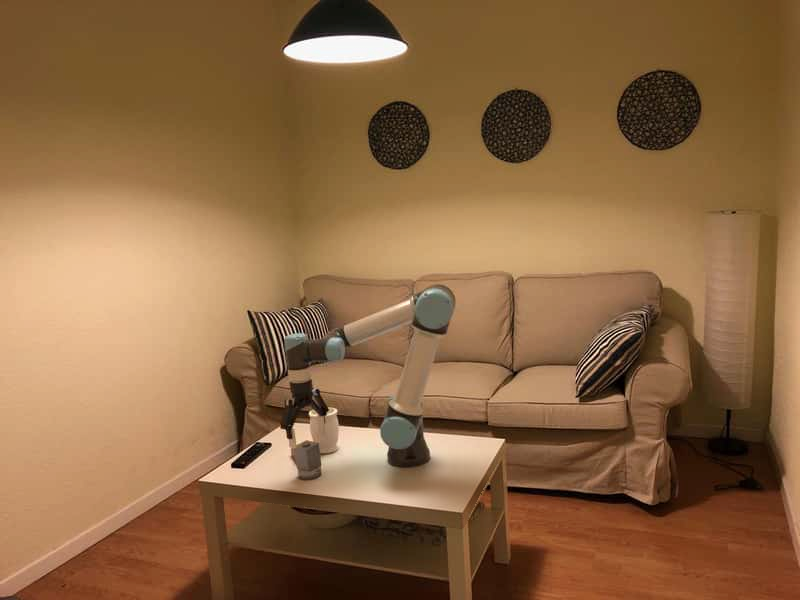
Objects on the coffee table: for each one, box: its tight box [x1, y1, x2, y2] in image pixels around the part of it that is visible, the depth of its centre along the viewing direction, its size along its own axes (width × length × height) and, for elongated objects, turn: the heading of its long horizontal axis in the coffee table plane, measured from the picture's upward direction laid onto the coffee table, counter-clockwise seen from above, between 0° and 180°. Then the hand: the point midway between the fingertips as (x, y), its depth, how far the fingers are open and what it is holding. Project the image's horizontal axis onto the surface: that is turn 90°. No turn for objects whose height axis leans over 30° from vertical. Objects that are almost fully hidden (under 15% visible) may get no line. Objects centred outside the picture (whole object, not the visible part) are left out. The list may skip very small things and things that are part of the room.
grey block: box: [294, 439, 323, 472], centre depth 234 cm, size 6×6×8 cm
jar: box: [308, 407, 340, 455], centre depth 257 cm, size 11×10×15 cm
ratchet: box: [290, 447, 323, 482], centre depth 243 cm, size 26×8×7 cm, turn 21°
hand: (308, 440), depth 233 cm, fingers open, 13 cm apart
